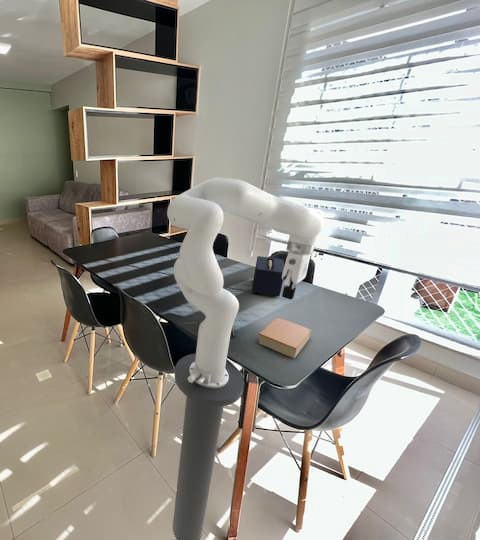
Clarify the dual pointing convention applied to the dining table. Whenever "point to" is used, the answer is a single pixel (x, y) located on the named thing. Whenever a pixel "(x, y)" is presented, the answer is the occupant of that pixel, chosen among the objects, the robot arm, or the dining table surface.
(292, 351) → the open wooden box
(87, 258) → the dining table surface
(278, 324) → the cover
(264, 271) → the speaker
